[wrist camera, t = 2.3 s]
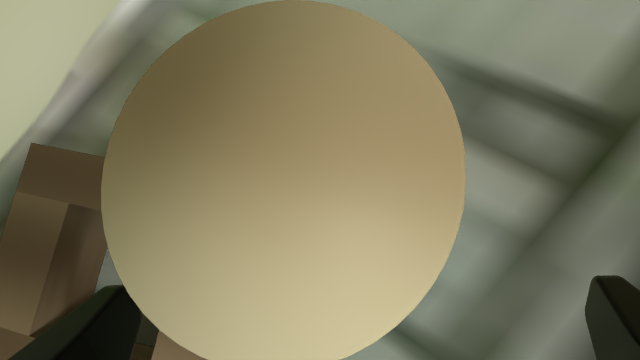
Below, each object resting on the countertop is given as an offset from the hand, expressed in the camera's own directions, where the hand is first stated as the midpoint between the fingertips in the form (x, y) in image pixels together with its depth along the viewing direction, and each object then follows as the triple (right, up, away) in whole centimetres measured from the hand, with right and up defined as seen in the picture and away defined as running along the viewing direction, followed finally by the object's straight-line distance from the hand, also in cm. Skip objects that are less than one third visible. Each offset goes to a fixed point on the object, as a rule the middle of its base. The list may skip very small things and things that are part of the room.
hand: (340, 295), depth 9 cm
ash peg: (+2, 0, +9) cm, 9 cm away
